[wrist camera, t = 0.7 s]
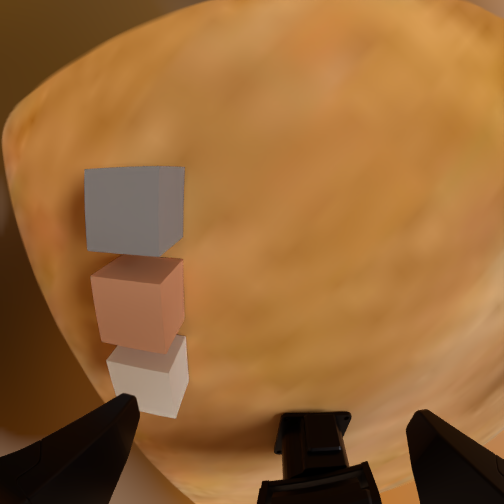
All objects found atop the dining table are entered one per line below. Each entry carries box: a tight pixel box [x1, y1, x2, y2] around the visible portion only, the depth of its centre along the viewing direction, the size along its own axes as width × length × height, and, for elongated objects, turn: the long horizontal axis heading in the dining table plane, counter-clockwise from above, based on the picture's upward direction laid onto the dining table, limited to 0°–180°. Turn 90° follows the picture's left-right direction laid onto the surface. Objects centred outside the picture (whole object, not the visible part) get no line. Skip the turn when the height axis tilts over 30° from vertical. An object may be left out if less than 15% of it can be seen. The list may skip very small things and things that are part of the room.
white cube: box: [106, 335, 189, 419], centre depth 19 cm, size 4×4×4 cm
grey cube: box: [84, 166, 185, 257], centre depth 16 cm, size 4×4×4 cm
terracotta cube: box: [90, 254, 185, 354], centre depth 17 cm, size 4×4×4 cm
